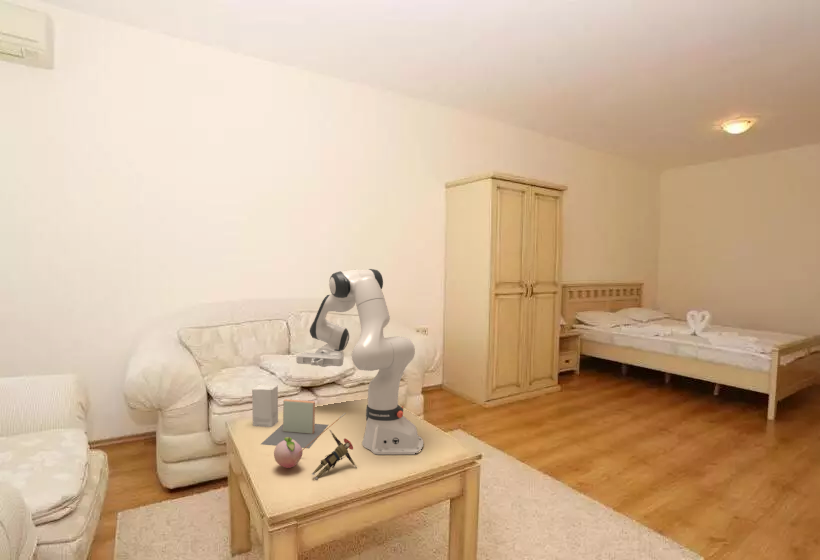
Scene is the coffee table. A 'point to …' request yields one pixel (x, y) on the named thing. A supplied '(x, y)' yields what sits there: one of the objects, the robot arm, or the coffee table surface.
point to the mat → (295, 436)
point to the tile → (298, 416)
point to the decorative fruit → (288, 453)
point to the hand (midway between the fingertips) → (314, 363)
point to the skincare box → (265, 405)
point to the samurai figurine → (334, 454)
